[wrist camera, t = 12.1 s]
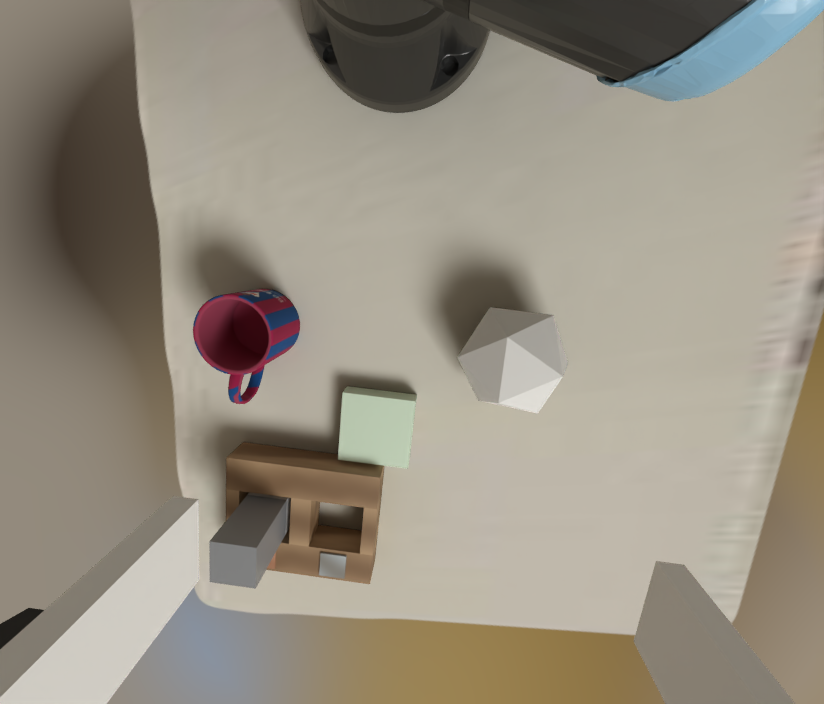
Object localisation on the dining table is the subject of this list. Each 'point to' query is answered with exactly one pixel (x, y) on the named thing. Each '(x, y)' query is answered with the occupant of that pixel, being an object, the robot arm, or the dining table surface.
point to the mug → (245, 335)
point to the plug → (249, 540)
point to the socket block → (312, 507)
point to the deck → (376, 426)
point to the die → (514, 359)
